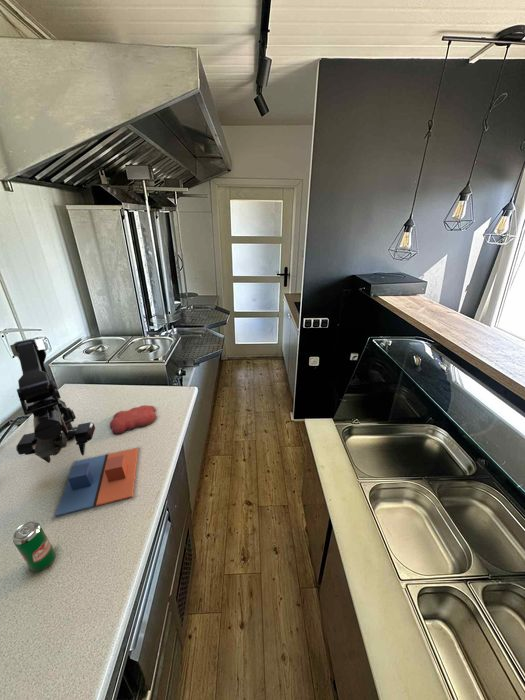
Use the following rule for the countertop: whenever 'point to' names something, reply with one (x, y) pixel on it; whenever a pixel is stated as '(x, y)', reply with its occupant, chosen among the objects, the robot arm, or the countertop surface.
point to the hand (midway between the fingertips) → (66, 458)
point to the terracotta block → (116, 468)
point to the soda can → (34, 545)
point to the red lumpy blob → (132, 419)
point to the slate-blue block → (81, 476)
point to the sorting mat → (100, 485)
